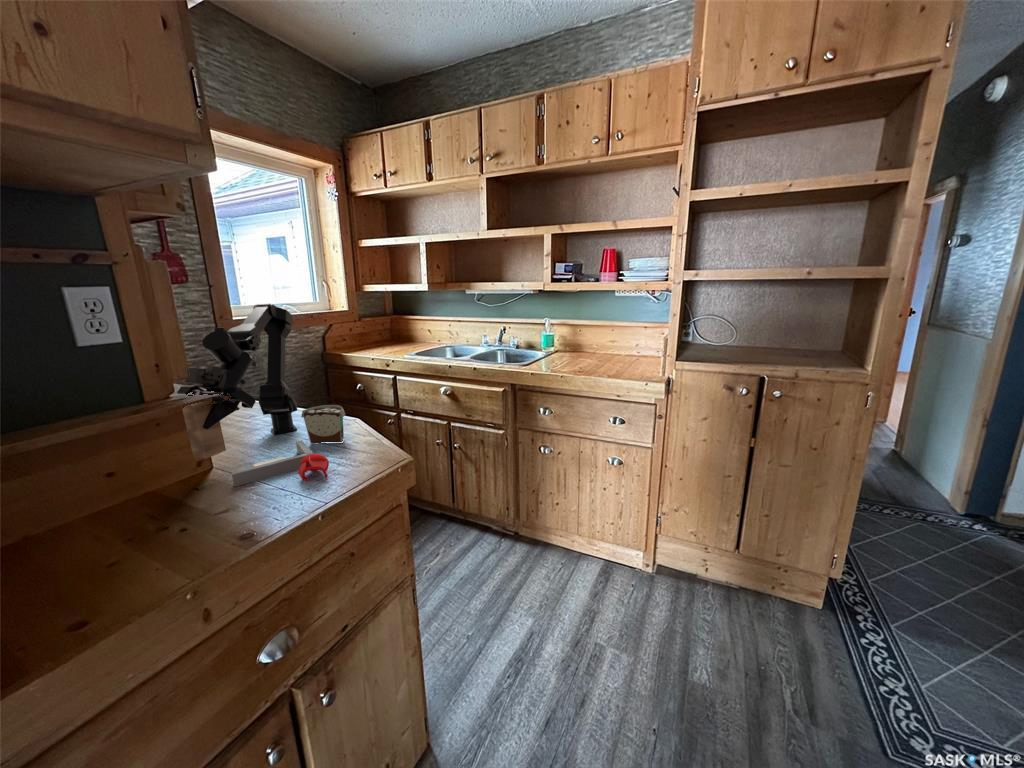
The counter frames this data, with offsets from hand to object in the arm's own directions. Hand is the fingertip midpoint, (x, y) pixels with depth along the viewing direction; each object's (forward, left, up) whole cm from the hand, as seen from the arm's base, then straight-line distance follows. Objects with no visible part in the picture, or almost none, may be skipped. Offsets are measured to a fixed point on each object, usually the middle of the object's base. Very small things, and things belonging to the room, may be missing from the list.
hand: (198, 428), depth 96 cm
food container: (-5, +30, -13) cm, 33 cm away
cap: (+18, +20, -13) cm, 30 cm away
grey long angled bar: (+4, +13, -12) cm, 18 cm away
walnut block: (-1, +1, -7) cm, 7 cm away
